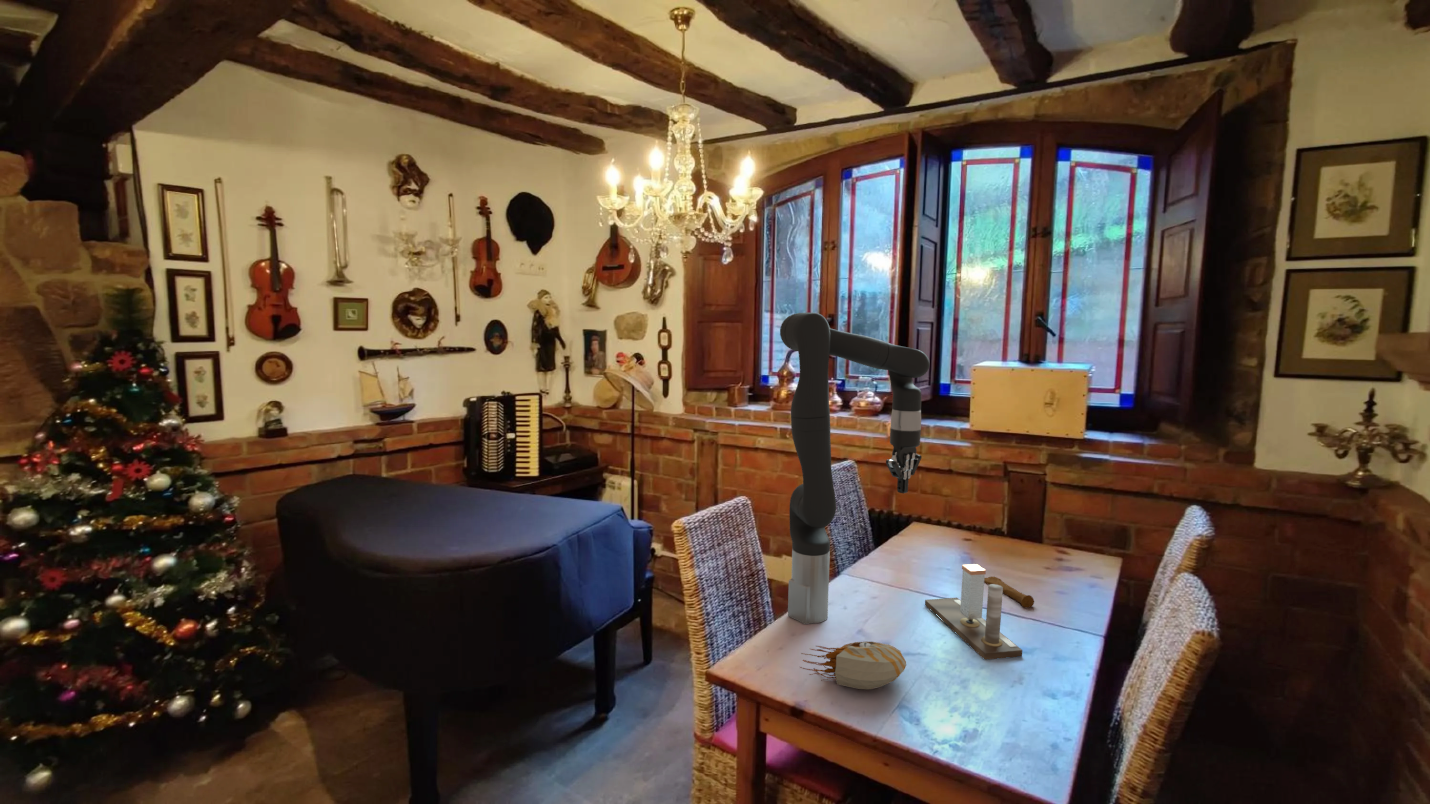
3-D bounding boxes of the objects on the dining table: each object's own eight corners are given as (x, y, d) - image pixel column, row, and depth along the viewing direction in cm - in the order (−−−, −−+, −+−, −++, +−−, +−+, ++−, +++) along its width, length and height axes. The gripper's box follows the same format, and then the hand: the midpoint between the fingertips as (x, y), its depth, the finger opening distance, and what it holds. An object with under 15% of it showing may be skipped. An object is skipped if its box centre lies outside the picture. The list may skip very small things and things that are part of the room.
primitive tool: (978, 580, 184) (978, 568, 183) (994, 578, 185) (995, 567, 184) (1022, 610, 165) (1023, 597, 165) (1041, 608, 166) (1042, 595, 166)
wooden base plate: (1021, 656, 142) (1026, 594, 140) (984, 659, 140) (988, 596, 138) (956, 602, 168) (960, 549, 166) (924, 605, 166) (927, 551, 165)
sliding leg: (982, 624, 152) (985, 570, 150) (967, 625, 151) (971, 571, 150) (973, 616, 156) (976, 564, 154) (958, 617, 155) (962, 565, 153)
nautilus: (793, 690, 129) (808, 657, 143) (904, 706, 122) (908, 669, 136) (792, 652, 129) (807, 622, 143) (903, 665, 121) (907, 633, 135)
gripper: (903, 431, 157) (899, 500, 160) (932, 426, 166) (929, 491, 168) (877, 427, 163) (875, 493, 166) (907, 422, 172) (904, 485, 174)
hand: (902, 492), depth 167 cm, fingers closed
